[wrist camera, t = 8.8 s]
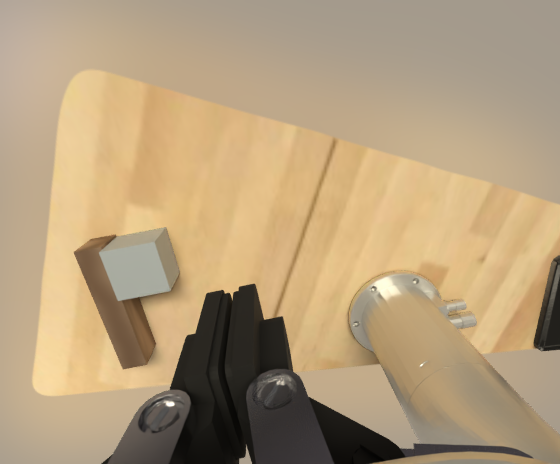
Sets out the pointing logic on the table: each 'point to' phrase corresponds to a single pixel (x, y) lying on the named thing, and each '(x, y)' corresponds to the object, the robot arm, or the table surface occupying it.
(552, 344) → the phone
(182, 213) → the table surface
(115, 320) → the brown wooden bar
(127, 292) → the block
